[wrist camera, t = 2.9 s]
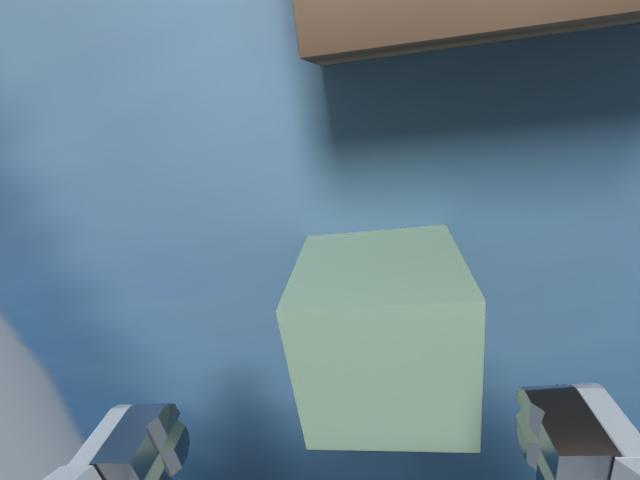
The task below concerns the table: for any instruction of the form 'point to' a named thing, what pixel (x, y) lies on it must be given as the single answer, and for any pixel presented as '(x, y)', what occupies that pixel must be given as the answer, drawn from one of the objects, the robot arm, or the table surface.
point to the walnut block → (440, 24)
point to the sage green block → (385, 342)
